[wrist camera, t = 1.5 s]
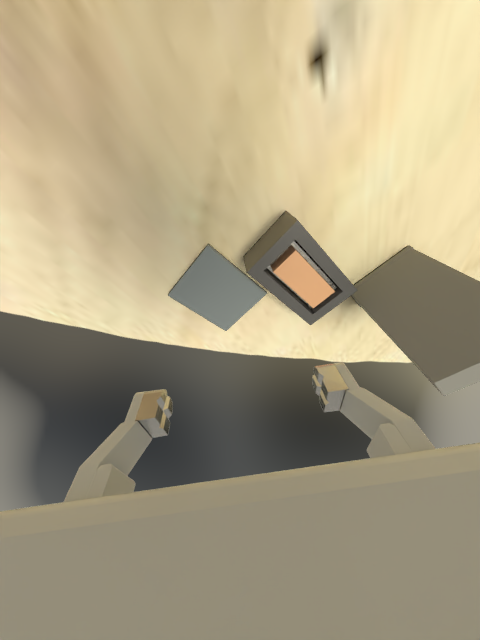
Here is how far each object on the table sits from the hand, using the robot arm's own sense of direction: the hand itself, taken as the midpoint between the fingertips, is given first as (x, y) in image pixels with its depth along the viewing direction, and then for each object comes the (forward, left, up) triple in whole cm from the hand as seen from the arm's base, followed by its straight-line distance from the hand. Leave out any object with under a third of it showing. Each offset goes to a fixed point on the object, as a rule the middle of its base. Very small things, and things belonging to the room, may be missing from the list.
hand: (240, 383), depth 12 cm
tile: (-3, +16, -29) cm, 33 cm away
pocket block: (-3, +15, -33) cm, 37 cm away
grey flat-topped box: (-14, +33, -33) cm, 49 cm away
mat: (+12, +7, -33) cm, 36 cm away
